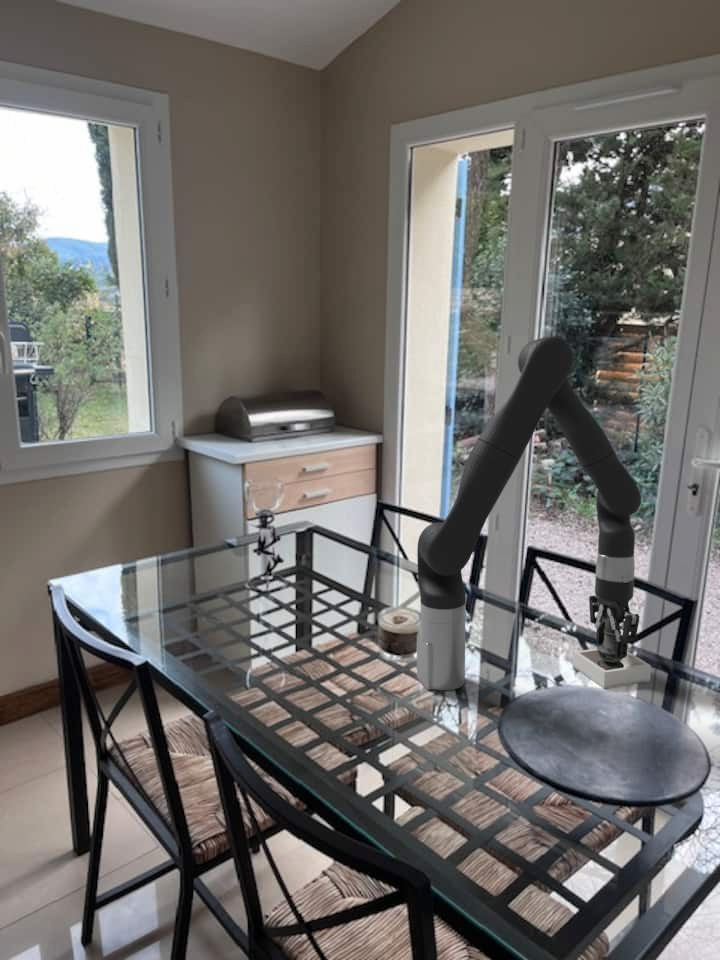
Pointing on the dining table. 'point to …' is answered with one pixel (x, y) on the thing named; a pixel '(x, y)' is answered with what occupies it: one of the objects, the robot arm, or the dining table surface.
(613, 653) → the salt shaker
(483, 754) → the dining table surface
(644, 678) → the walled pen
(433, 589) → the robot arm
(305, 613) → the dining table surface
